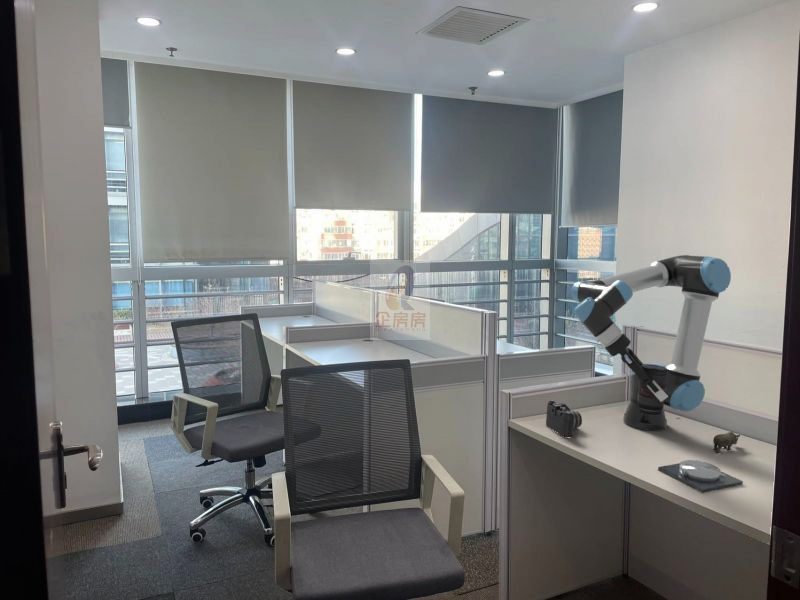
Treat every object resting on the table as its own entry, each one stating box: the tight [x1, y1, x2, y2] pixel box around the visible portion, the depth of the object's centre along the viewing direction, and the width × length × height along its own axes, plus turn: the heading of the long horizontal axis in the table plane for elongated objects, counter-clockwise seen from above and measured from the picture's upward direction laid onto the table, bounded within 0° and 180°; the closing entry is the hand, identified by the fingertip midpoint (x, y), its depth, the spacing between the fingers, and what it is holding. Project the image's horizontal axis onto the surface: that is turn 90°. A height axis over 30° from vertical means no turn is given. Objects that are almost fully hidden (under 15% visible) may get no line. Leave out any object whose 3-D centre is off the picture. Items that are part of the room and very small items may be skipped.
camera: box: [545, 399, 583, 438], centre depth 211 cm, size 14×11×10 cm
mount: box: [657, 459, 744, 494], centre depth 175 cm, size 16×16×3 cm
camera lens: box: [637, 363, 668, 416], centre depth 185 cm, size 8×8×15 cm
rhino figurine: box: [712, 431, 741, 454], centre depth 197 cm, size 4×14×6 cm, turn 120°
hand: (663, 395), depth 184 cm, fingers closed on camera lens, 8 cm apart
